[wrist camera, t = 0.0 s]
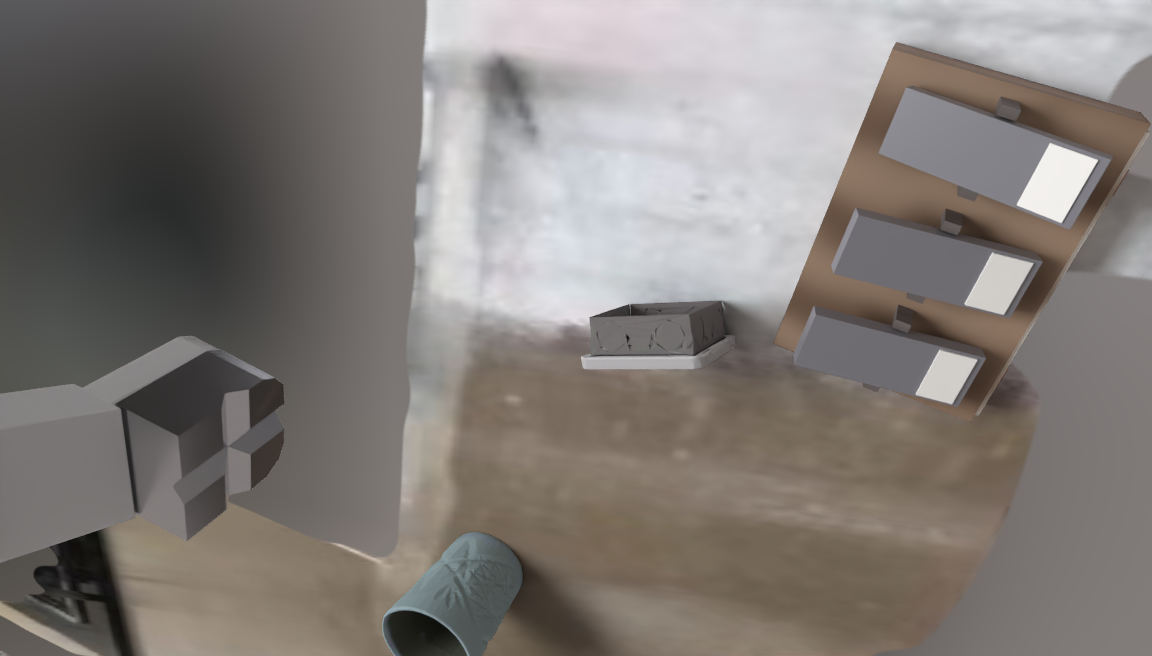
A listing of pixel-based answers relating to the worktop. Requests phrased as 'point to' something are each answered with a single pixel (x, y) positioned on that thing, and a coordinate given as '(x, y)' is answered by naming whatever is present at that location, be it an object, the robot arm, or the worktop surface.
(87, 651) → the worktop surface
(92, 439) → the robot arm
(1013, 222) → the switch unit
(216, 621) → the worktop surface
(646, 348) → the electrical switch
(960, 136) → the rocker
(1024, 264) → the rocker middle
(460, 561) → the blue embossed cup
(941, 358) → the rocker
